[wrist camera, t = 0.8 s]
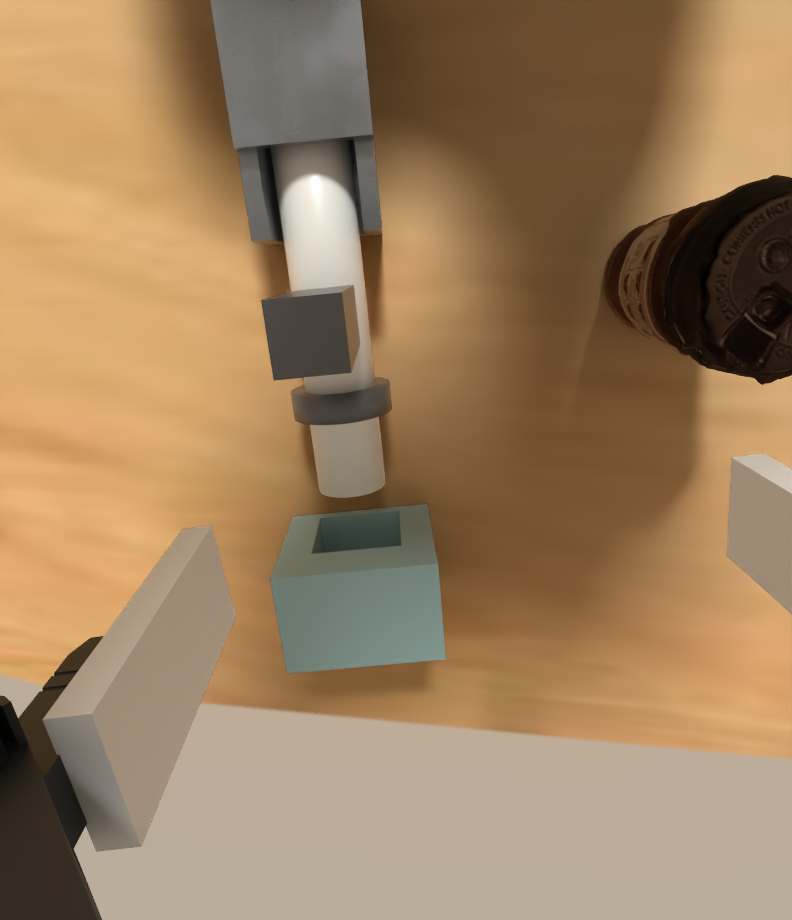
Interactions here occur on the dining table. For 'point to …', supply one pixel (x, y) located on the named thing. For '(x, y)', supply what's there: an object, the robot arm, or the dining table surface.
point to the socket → (359, 590)
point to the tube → (327, 319)
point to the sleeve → (295, 96)
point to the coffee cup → (714, 280)
